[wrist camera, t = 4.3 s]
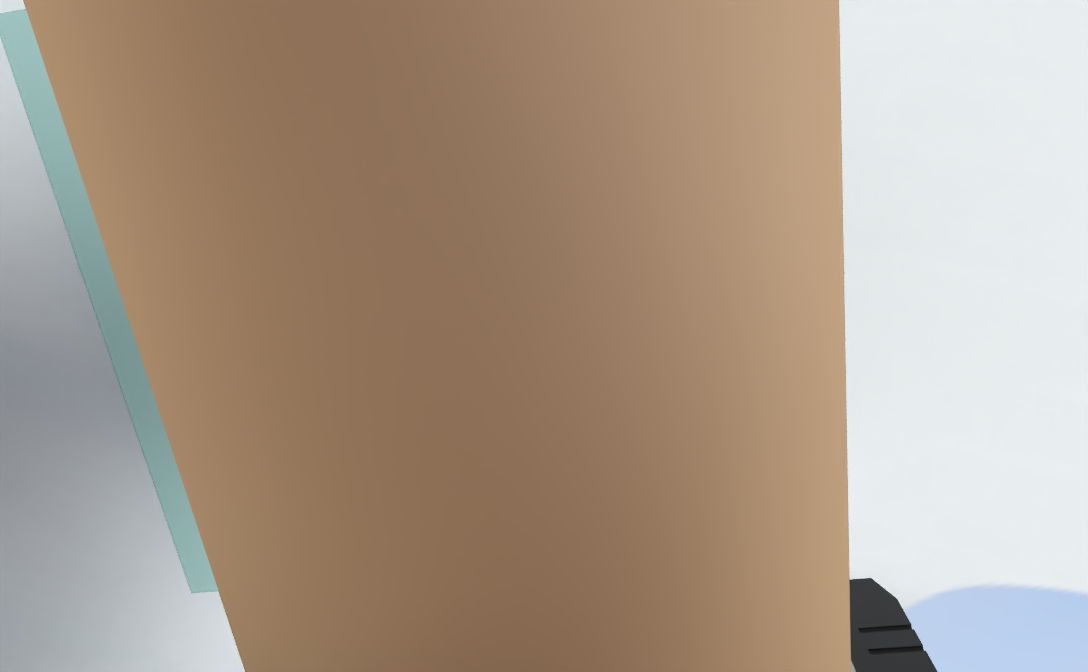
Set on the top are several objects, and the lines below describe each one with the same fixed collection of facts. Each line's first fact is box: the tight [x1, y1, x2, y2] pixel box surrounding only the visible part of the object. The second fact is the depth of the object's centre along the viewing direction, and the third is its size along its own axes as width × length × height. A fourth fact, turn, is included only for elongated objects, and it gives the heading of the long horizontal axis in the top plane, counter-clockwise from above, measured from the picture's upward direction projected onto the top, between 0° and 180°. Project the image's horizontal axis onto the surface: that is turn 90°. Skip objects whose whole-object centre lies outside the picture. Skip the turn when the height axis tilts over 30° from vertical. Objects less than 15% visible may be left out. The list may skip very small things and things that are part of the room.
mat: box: [0, 9, 218, 593], centre depth 30 cm, size 10×24×1 cm, turn 8°
